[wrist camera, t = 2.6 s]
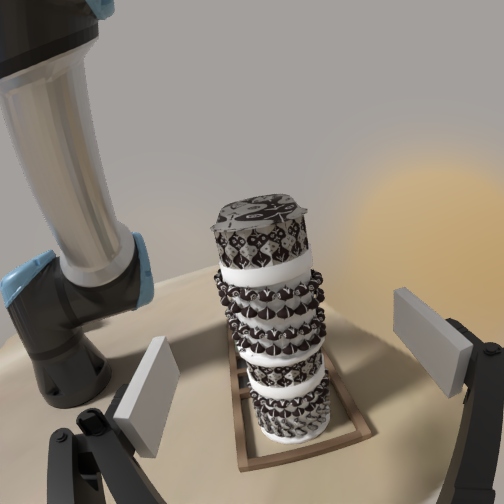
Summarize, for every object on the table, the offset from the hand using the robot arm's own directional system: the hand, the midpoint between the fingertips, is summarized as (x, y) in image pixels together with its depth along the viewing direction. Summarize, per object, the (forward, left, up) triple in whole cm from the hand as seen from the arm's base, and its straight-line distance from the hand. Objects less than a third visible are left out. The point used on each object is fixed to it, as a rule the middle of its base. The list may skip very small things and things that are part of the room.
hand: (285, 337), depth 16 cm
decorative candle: (-7, +8, -19) cm, 21 cm away
